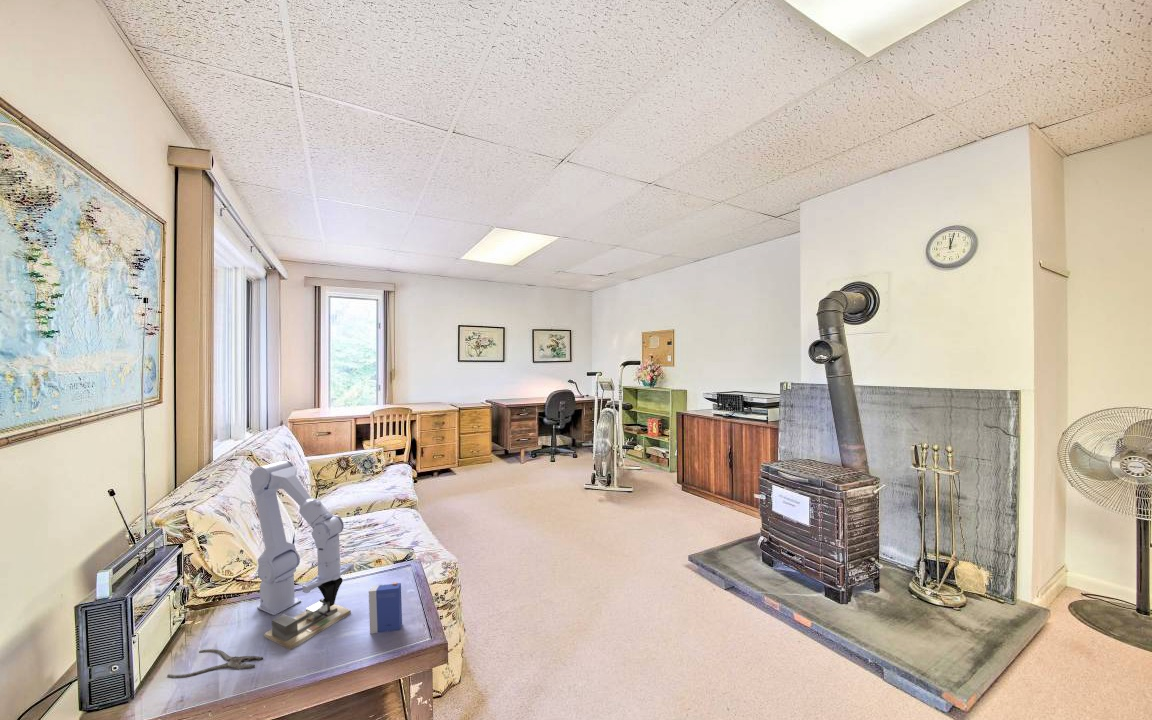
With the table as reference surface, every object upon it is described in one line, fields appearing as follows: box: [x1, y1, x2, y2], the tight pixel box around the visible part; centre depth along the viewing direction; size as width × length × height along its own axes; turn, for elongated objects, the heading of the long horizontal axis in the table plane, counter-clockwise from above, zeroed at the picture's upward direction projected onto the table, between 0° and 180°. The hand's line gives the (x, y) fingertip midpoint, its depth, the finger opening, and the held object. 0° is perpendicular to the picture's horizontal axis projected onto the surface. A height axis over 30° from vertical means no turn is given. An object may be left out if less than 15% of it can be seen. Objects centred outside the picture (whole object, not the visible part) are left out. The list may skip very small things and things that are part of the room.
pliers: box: [166, 648, 264, 679], centre depth 107 cm, size 10×1×20 cm
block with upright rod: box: [305, 597, 330, 621], centre depth 121 cm, size 5×7×3 cm
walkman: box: [368, 582, 403, 634], centre depth 117 cm, size 8×3×12 cm, turn 99°
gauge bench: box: [264, 603, 352, 650], centre depth 120 cm, size 17×12×5 cm
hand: (330, 604), depth 125 cm, fingers closed
